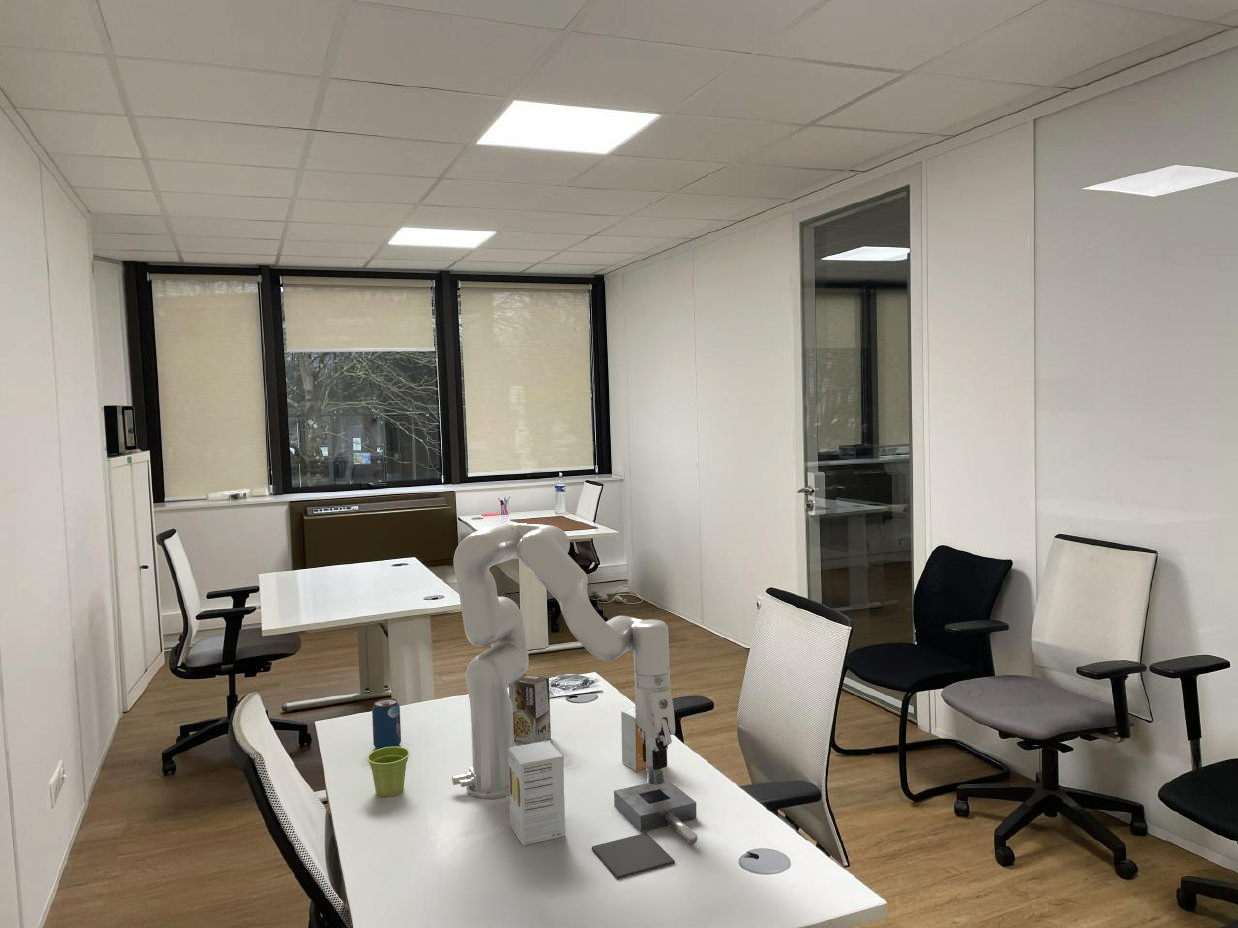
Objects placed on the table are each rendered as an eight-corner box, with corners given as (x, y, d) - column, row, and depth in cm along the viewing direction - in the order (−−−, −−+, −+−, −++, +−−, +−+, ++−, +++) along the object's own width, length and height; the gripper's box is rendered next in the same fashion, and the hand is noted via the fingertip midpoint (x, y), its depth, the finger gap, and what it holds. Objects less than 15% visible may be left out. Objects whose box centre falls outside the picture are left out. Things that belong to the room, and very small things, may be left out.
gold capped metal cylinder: (651, 786, 178) (649, 724, 177) (642, 779, 182) (640, 718, 181) (669, 782, 180) (667, 721, 179) (660, 774, 183) (658, 714, 183)
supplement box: (509, 825, 177) (506, 746, 176) (551, 816, 181) (549, 738, 180) (522, 846, 168) (520, 763, 167) (566, 836, 172) (564, 755, 171)
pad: (617, 879, 155) (617, 876, 155) (591, 849, 166) (591, 846, 166) (674, 863, 160) (674, 860, 160) (646, 835, 171) (646, 832, 171)
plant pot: (419, 790, 194) (417, 753, 194) (382, 804, 188) (381, 766, 187) (396, 778, 201) (395, 743, 200) (360, 792, 194) (359, 755, 193)
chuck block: (663, 855, 163) (663, 837, 163) (614, 806, 184) (614, 790, 184) (721, 839, 169) (721, 822, 169) (667, 793, 190) (667, 778, 190)
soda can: (405, 748, 219) (403, 702, 219) (378, 754, 216) (376, 708, 215) (395, 739, 225) (394, 695, 224) (370, 746, 221) (368, 700, 221)
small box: (636, 771, 202) (635, 718, 201) (621, 762, 207) (620, 710, 206) (663, 763, 206) (662, 710, 205) (648, 754, 212) (647, 703, 211)
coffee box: (552, 737, 224) (550, 677, 223) (537, 745, 219) (535, 684, 218) (524, 731, 229) (523, 672, 228) (509, 739, 224) (507, 679, 223)
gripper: (687, 687, 173) (690, 774, 174) (650, 666, 188) (653, 747, 189) (654, 693, 170) (657, 782, 171) (619, 671, 185) (622, 754, 186)
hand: (655, 763), depth 180 cm, fingers closed on gold capped metal cylinder, 3 cm apart
